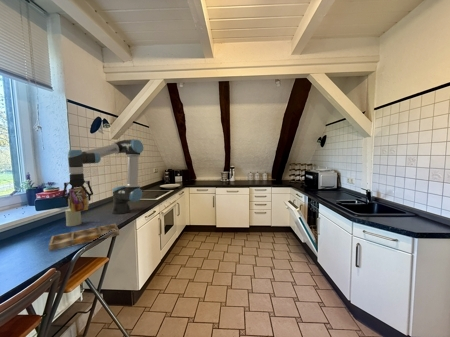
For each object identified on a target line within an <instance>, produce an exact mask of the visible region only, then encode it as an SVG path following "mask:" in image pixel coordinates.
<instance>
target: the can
mask: <svg viewBox="0 0 450 337" xmlns="http://www.w3.org/2000/svg"><path fill="white" fill-rule="evenodd" d="M64 211H65V219H66V220H65V225H66V227H75V226H79V225H81V224H83V223H82V214H81V212H82V211H78V212H73V213H72V212H71V209H69V208H67V209H65V210H64Z"/></svg>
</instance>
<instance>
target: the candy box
mask: <svg viewBox="0 0 450 337" xmlns="http://www.w3.org/2000/svg"><path fill="white" fill-rule="evenodd" d="M84 187H85V186H84ZM85 189H86V190H87V187H85ZM69 191H70V195H69V197H68V198H70V209H71V212H72V213H73V212H78V211H81V212H82V211H87V210H89V206H88V203H87V196H88V195H87V193H86V192H85V191H84V190H83V188H82V187H77V188H73V189H71V188H68V192H69Z"/></svg>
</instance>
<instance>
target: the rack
mask: <svg viewBox="0 0 450 337" xmlns="http://www.w3.org/2000/svg"><path fill="white" fill-rule="evenodd" d="M111 230H115V231H112V233H113V234H112V235H111V236H109V237H108V238H107V239H109V238H112V237H119V236H120V229H119V228H118V225H117V224H116V223H111V224H108V225H107V224H106V225H102V226H97V227H90V228H86V229H82V230H76V231H71V232H66V233H59V234H56V235H52V236H51V237H50V240H49V243H48V251H49V252H51V251H56V249H57V250H61V249H65V248H64V247H66V248H69V247H68V246H70V247H73V246H72V245H74V246H78V245H77V244H79V245H81V244H82V245H84V244H86V243H91V242H94V241H93V240H95V239H97V238H99V237H100V236H102V235H104V234H106V233H108V232H109V231H111ZM60 248H61V249H60Z"/></svg>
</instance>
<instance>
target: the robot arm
mask: <svg viewBox="0 0 450 337" xmlns="http://www.w3.org/2000/svg"><path fill="white" fill-rule="evenodd" d="M143 151H144V144H143V142H142V141H141V140H139V139H122V140H119V141H116V142H113V143H111V144H108V145H105V146H100V147H97V148H92V149H87V150H85V151H83V150H82V149H69V150H68V151H67V161H68V162H67V163H68V174H69V182H67V181H66V182H63V186H64V188H63V192H62V196H61V199H65V203H66V204H68V209H70V198H69V195H70V191H69V190H68V193H67V188H68V186H69V185H70V186H71V187H70V189H73V188H81V187H82V188H83V190H84V191H85V192H86V193H87V203H88V207H89V206H90V203H89V202H90V201H91V200H92V198H91V196H93V195H94V192H93V189H92V186H91V181H90V180H85V177H84V176H85V175H84V174H85V173H84V165H88V164H89V165H90V164H91V165H92V164H99V163H100V162H101V158H103V157H106V156H110V155H113V154H115V155H117V154H125V156H126V157H127V166H126V167H127V171H126V176H127V177H126V185H121V186H116V187H115V186H114V187H113V189H112V198H113V199H112V201H113V205H112V209H111V214H112V215H122V214H126V213H129V212H131V205H130V203H129V202H132V203H133V202H135V203H137V202H139V201H140V200H141V199H142V197H143V190H142V189H141V188H140V185H139V158H140V156H141V153H143ZM85 184H86V185H87V186H88V189H87V188H86V189H85V186H84V185H85ZM88 190H89V191H88Z"/></svg>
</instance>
